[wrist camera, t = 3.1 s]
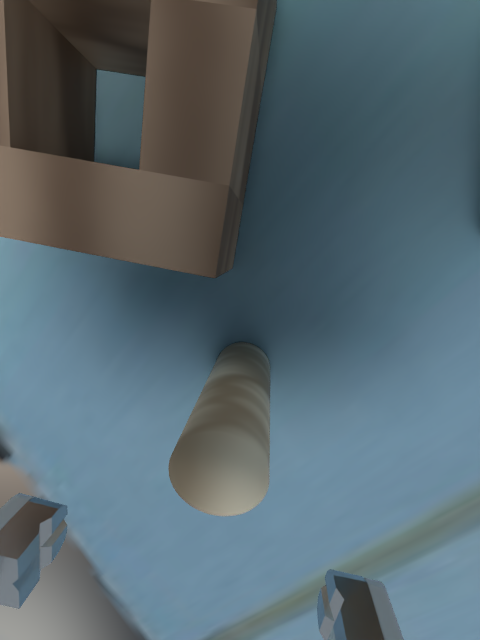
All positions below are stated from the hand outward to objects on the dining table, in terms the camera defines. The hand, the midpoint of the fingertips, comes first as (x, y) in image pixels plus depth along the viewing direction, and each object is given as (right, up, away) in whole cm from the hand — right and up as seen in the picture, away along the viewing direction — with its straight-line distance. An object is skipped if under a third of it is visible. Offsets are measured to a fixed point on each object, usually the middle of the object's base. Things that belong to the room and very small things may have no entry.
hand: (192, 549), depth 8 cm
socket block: (-5, +18, +9) cm, 21 cm away
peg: (+2, +3, +12) cm, 13 cm away
